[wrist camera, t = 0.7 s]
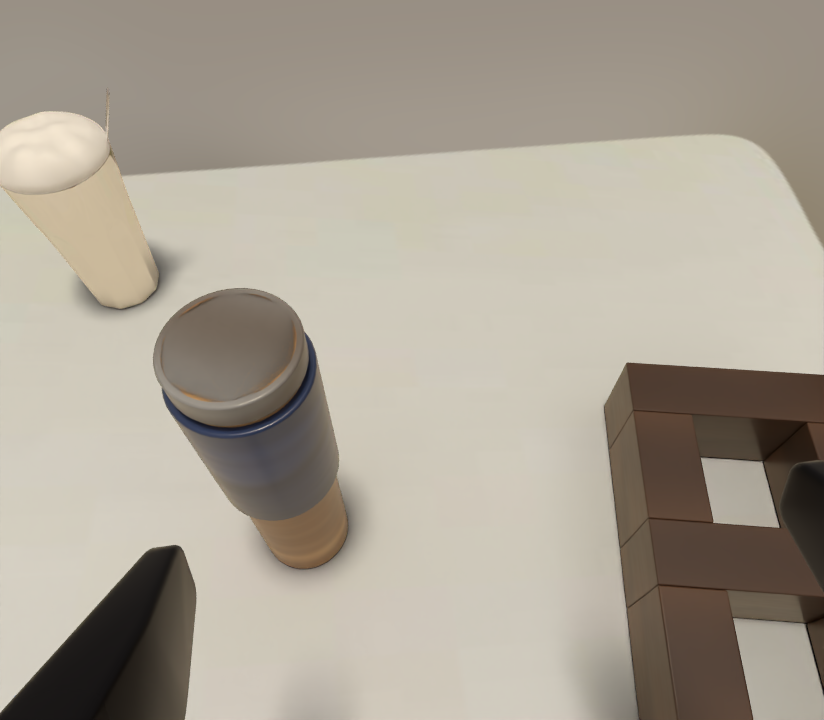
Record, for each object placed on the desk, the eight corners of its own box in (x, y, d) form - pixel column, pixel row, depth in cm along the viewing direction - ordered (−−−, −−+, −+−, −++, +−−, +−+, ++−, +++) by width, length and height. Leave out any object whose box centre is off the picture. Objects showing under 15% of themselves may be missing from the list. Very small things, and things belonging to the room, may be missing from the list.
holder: (938, 854, 19) (1035, 869, 16) (650, 827, 19) (693, 836, 16) (801, 418, 27) (848, 375, 24) (603, 405, 27) (626, 362, 24)
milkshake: (196, 298, 31) (116, 123, 23) (86, 331, 30) (-41, 160, 21) (179, 238, 33) (101, 60, 25) (76, 267, 32) (-42, 90, 24)
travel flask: (347, 579, 23) (294, 421, 13) (251, 572, 23) (121, 409, 13) (360, 487, 25) (322, 286, 15) (271, 480, 25) (172, 278, 15)
